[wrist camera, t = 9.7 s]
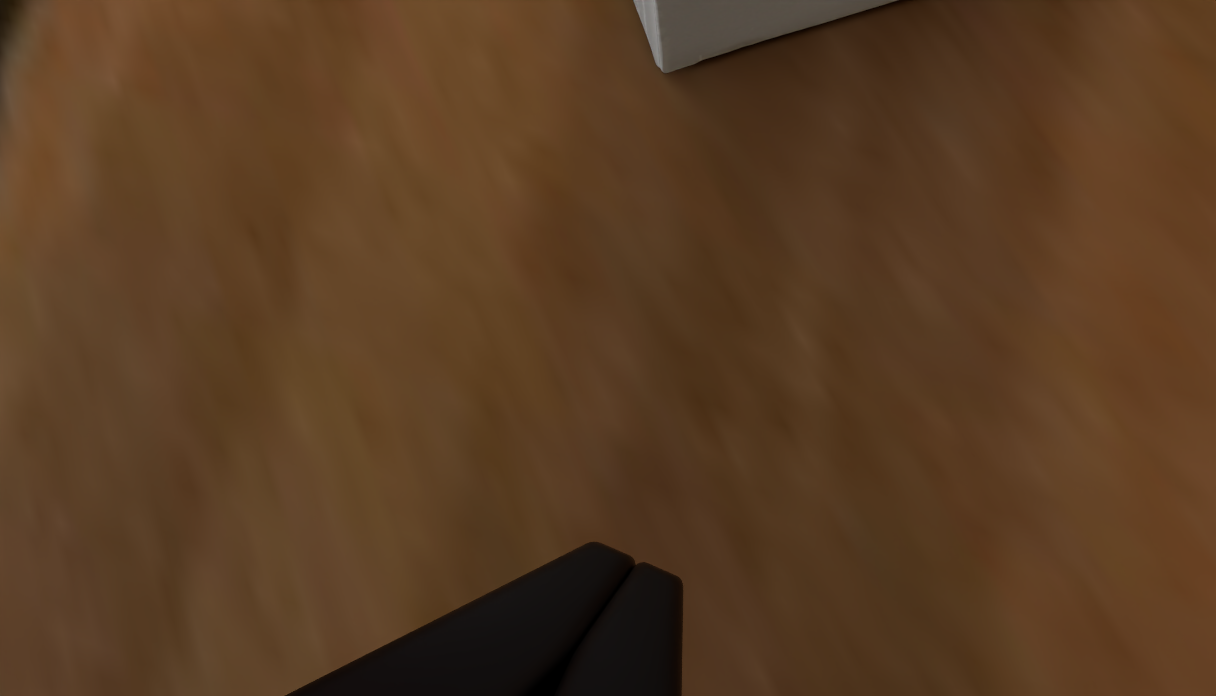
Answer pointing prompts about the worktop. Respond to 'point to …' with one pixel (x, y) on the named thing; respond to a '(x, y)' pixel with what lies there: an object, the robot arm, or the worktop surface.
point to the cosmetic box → (730, 24)
